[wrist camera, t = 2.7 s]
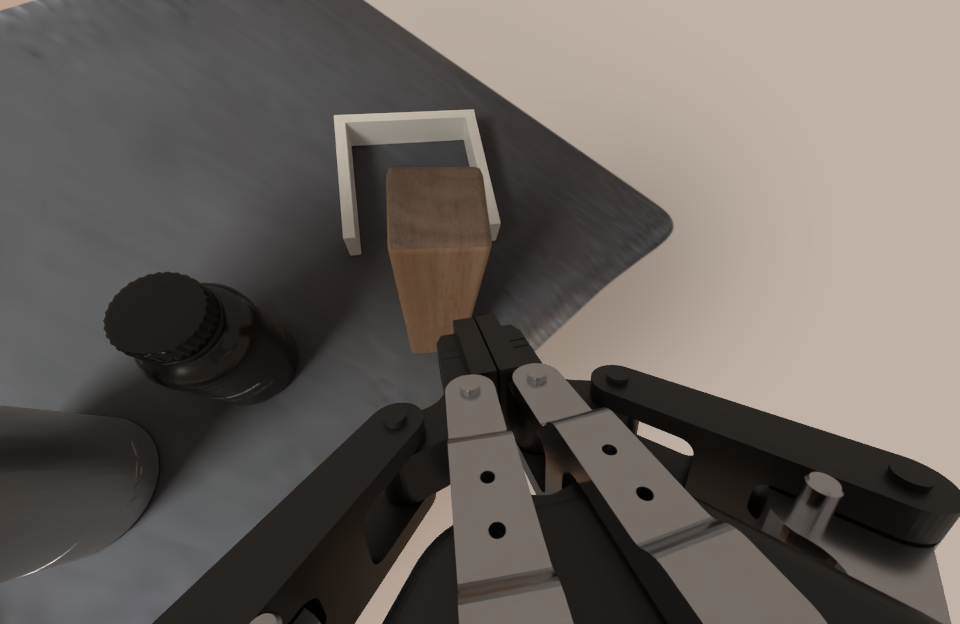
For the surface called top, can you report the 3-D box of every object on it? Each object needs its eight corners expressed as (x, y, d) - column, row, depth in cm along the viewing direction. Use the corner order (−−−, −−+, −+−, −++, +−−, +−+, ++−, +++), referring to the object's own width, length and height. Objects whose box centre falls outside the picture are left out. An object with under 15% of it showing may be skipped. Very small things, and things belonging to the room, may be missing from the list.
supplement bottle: (256, 424, 29) (142, 408, 17) (191, 373, 29) (41, 326, 18) (319, 353, 31) (254, 299, 20) (257, 308, 32) (161, 231, 20)
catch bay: (350, 255, 34) (343, 238, 32) (341, 139, 39) (333, 115, 36) (495, 240, 37) (500, 223, 34) (470, 132, 41) (473, 109, 38)
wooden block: (407, 262, 35) (383, 89, 18) (455, 260, 35) (473, 92, 19) (411, 355, 32) (386, 251, 15) (463, 351, 32) (494, 247, 16)
